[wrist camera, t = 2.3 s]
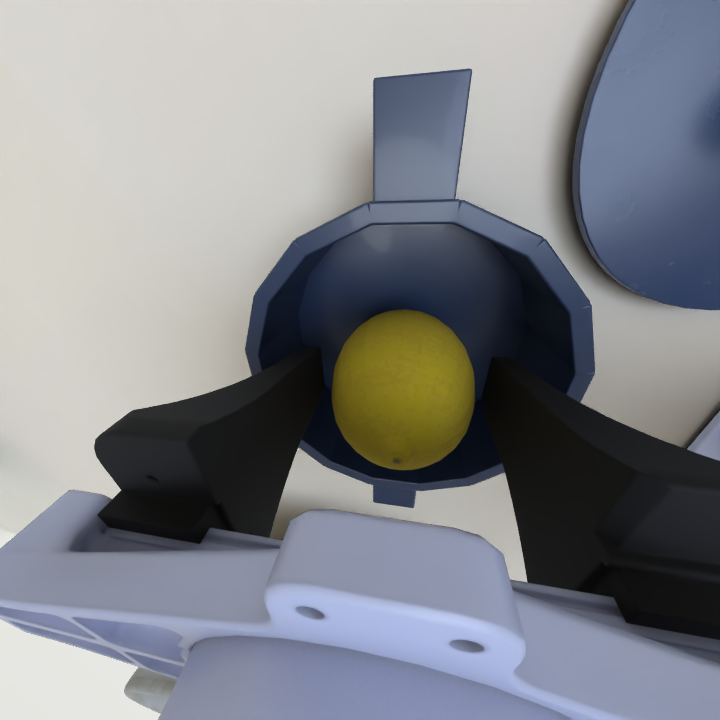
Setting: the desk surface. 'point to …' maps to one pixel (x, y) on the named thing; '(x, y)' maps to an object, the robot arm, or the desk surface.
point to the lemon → (403, 390)
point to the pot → (423, 283)
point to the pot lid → (655, 154)
